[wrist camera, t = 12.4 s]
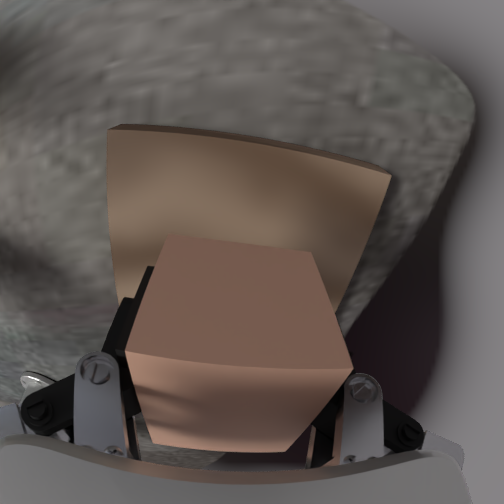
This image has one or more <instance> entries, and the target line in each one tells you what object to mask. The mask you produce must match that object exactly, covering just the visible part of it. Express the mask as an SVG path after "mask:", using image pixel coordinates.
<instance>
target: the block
mask: <svg viewBox="0 0 504 504" xmlns="http://www.w3.org/2000/svg"><path fill="white" fill-rule="evenodd" d="M125 354H126V358H127V362H128V366H129V370H130V373H131V377H132V381H133V384H134V388H135V391H136V394H137V398H138V401H139V404H140V407H141V410H142V413H143V416H144V419H145V422H146V425H147V428H148V431H149V433H150V436H151V439H152V441H153V443H156V444H162V445H168V446H175V447H183V448H191V449H200V450H212V451H228V452H285V451H286V450H287V449H288V448H289V447H290V446H291V445H292V443H294V441H295V440H296V439H297V438H298V437H299V436H300V435H301V434H302V432H303V431H304V430H305V429H306V428H307V427H308V426H309V425H310V423H311V422H312V421H313V420H314V419H315V418H316V416H317V415H318V414H319V413H320V412H321V410H322V409H323V408H324V407H325V405H326V404H327V403H328V402H329V400H330V399H331V398H332V397H333V395H334V394H335V393H336V392H337V390H338V389H339V388H340V386H341V385H342V384H343V382H344V381H345V380H346V378H347V377H348V375H349V374H350V373H351V371H352V370H353V369H354V368H353V365H352V362H351V359H350V356H349V353H348V350H347V347H346V344H345V341H344V339H343V336H342V333H341V330H340V327H339V324H338V322H337V319H336V316H335V313H334V311H333V308H332V305H331V302H330V300H329V297H328V294H327V292H326V289H325V286H324V284H323V281H322V279H321V276H320V274H319V271H318V268H317V266H316V263H315V261H314V258H313V256H312V253H311V252H307V251H299V250H292V249H284V248H277V247H269V246H262V245H254V244H247V243H239V242H231V241H223V240H216V239H208V238H200V237H192V236H184V235H176V234H168V236H167V238H166V241H165V243H164V245H163V248H162V250H161V253H160V255H159V258H158V260H157V263H156V265H155V268H154V270H153V273H152V275H151V278H150V280H149V283H148V286H147V288H146V291H145V294H144V296H143V299H142V302H141V304H140V307H139V310H138V313H137V316H136V319H135V321H134V324H133V327H132V330H131V333H130V336H129V339H128V342H127V345H126V349H125Z"/></svg>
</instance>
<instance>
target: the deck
mask: <svg viewBox="0 0 504 504" xmlns="http://www.w3.org/2000/svg"><path fill="white" fill-rule="evenodd" d="M391 176H392V175H390V174H389V173H387V172H386V171H385V170H383V169H382V168H380V167H379V166H377V165H374V164H371V163H367V162H364V161H360V160H357V159H353V158H350V157H346V156H342V155H338V154H334V153H330V152H326V151H322V150H318V149H313V148H309V147H304V146H300V145H295V144H290V143H285V142H280V141H275V140H270V139H264V138H258V137H252V136H246V135H240V134H233V133H226V132H218V131H210V130H202V129H192V128H182V127H170V126H155V125H136V124H120V125H118V126H115V127H113V128H110V129H108V130H107V202H108V219H109V232H110V243H111V253H112V261H113V269H114V277H115V284H116V290H117V296H118V302H119V306H120V303H121V301H122V299H123V298H124V297H129V298H134V297H135V295H136V292H137V290H138V287H139V285H140V282H141V280H142V278H143V275H144V273H145V270H146V268H147V266H155V265H156V263H157V260H158V258H159V255H160V253H161V250H162V248H163V245H164V243H165V241H166V238H167V236H168V234H176V235H184V236H192V237H200V238H208V239H216V240H223V241H231V242H239V243H247V244H254V245H262V246H269V247H277V248H284V249H292V250H299V251H307V252H311V253H312V256H313V258H314V261H315V263H316V266H317V268H318V271H319V274H320V276H321V279H322V281H323V284H324V286H325V289H326V292H327V294H328V297H329V300H330V302H331V305H332V308H333V311H334V313H335V312H336V310H337V308H338V306H339V304H340V302H341V300H342V298H343V296H344V293H345V291H346V289H347V287H348V285H349V283H350V280H351V278H352V276H353V274H354V271H355V269H356V267H357V265H358V262H359V260H360V258H361V255H362V253H363V251H364V248H365V246H366V243H367V241H368V238H369V236H370V234H371V231H372V228H373V226H374V223H375V221H376V218H377V216H378V213H379V210H380V208H381V205H382V202H383V199H384V197H385V194H386V191H387V188H388V185H389V182H390V179H391Z"/></svg>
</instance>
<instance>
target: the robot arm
mask: <svg viewBox="0 0 504 504" xmlns="http://www.w3.org/2000/svg"><path fill="white" fill-rule="evenodd" d="M154 268H155V266H147V268H146V270H145V273H144V275H143V278H142V280H141V282H140V285H139V287H138V290H137V292H136V295H135V297H134V298H129V297H124V298H123V299H122V301H121V303H120V306H119V308H118V311H117V313H116V315H115V318H114V320H113V323H112V325H111V327H110V330H109V332H108V335H107V338H106V340H105V343H104V345H103V348H102V351H101V352H99V351H96V352H90V353H88V354H86V355H84V356H83V357H82V358H80V360H79V361H78V363H77V365H76V369H75V374H72V375H70V376H68V377H66V378H64V379H62V380H60V381H57V382H54V381H52V380H50V379H48V378H46V377H44V376H41V375H39V374H36V373H32V372H24V373H23V374H22V376H21V379H20V380H21V383H22V385H23V386H24V388H25V389H26V390H25V392H24V395H23V397H22V399H21V402H20V405H17V404H16V403H13V404H10V405H6V406H3V407H0V504H472V500H471V497H470V493H469V490H468V486H467V483H466V480H465V478H464V475H463V473H462V467H463V462H464V452H463V449H462V448H461V446H460V445H458V444H457V443H454V442H452V441H450V440H447V439H445V438H443V437H441V436H438V435H436V434H434V433H431V432H430V431H425V432H423V429H422V427H421V425H420V424H419V423H418V422H417V421H416V420H414V419H413V418H411V417H410V416H408V415H406V414H405V413H403V412H402V411H400V410H398V409H397V408H395V407H394V406H392V405H391V404H389V403H387V402H386V401H384V400H383V399H382V391H381V387H380V386H379V384H378V382H377V381H376V380H375V379H374V378H372V377H371V376H369V375H366V374H362V373H357V374H356V372H355V369H353V370H352V371H351V373H350V374H349V375H348V377H347V378H346V380H345V381H344V382H343V384H342V385H341V386H340V388H339V389H338V390H337V392H336V393H335V394H334V395H333V397H332V398H331V399H330V400H329V402H328V403H327V404H326V405H325V407H324V408H323V409H322V410H321V412H320V413H319V414H318V415H317V416H316V418H315V419H314V420H313V421H312V422H311V423H310V424H311V425H312V429H311V436H310V442H309V449H308V455H307V461H306V466H305V469H302V470H290V471H270V472H231V471H230V472H229V471H212V470H200V469H190V468H181V467H173V466H166V465H160V464H154V463H149V462H143V461H142V460H141V454H140V449H139V443H138V436H137V430H136V422H135V415H136V414H138V413H139V412H141V407H140V404H139V401H138V398H137V394H136V391H135V388H134V384H133V381H132V377H131V373H130V370H129V366H128V362H127V358H126V354H125V349H126V345H127V342H128V339H129V336H130V333H131V330H132V327H133V324H134V321H135V319H136V316H137V313H138V310H139V307H140V304H141V302H142V299H143V296H144V294H145V291H146V288H147V286H148V283H149V280H150V278H151V275H152V273H153V270H154ZM337 322H338V321H337ZM338 324H339V323H338ZM339 327H340V325H339ZM340 330H341V328H340ZM341 333H342V331H341ZM342 336H343V334H342ZM343 339H344V337H343ZM344 341H345V339H344ZM345 344H346V342H345ZM346 347H347V345H346ZM347 350H348V348H347ZM348 353H349V351H348ZM349 356H350V354H349ZM350 359H351V357H350ZM351 362H352V360H351ZM352 365H353V363H352ZM353 368H354V366H353Z"/></svg>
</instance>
